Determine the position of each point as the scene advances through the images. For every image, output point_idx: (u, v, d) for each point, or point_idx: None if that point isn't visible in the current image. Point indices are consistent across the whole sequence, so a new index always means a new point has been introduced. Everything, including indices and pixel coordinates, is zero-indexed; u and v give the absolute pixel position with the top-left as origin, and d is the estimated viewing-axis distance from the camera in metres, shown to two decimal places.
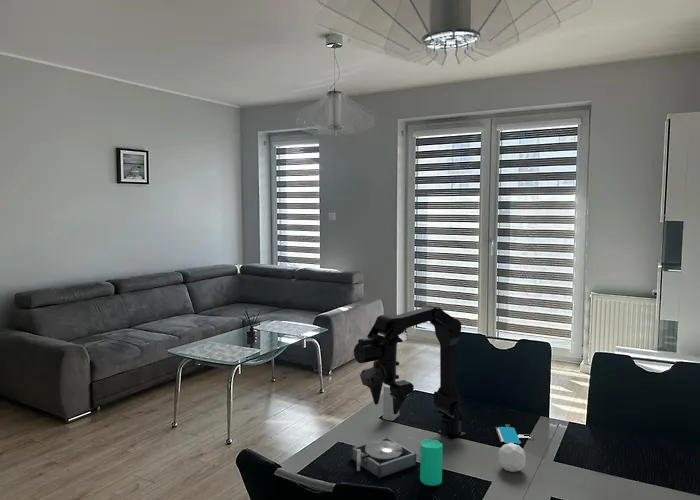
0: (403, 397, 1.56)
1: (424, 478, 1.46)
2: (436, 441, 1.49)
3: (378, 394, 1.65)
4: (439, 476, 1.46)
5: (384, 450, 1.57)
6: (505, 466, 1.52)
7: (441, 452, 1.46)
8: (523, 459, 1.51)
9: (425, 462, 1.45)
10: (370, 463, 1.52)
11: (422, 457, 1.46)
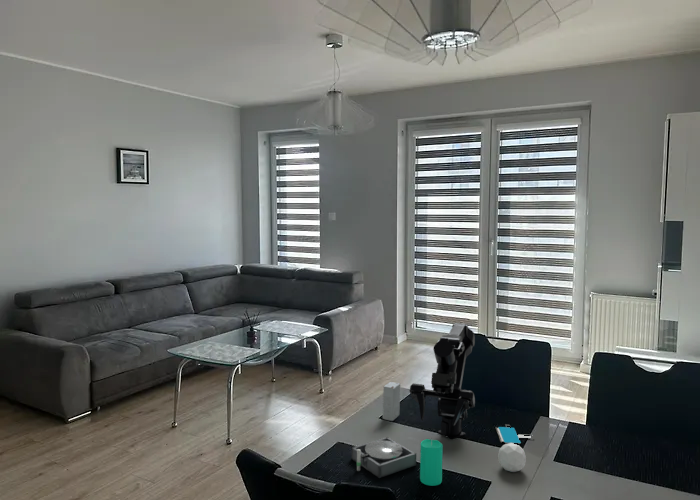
0: (462, 410, 1.56)
1: (424, 478, 1.46)
2: (436, 441, 1.49)
3: (424, 411, 1.58)
4: (439, 476, 1.46)
5: (384, 450, 1.57)
6: (505, 466, 1.52)
7: (441, 452, 1.46)
8: (523, 459, 1.51)
9: (425, 462, 1.45)
10: (370, 463, 1.52)
11: (422, 457, 1.46)
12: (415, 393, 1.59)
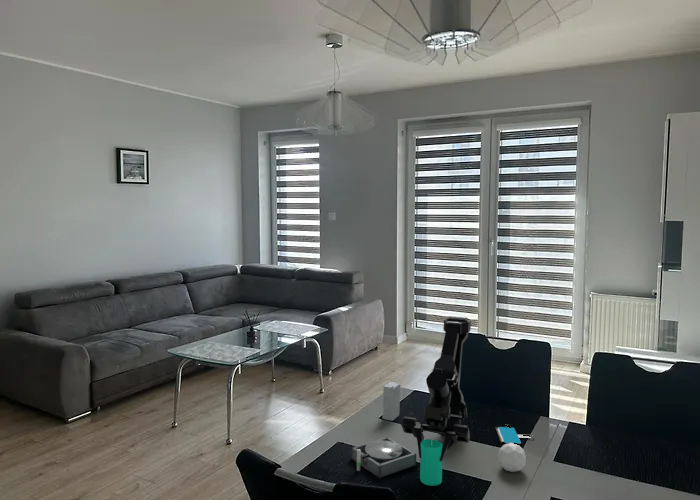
0: (450, 445, 1.49)
1: (424, 478, 1.46)
2: (436, 441, 1.49)
3: None
4: (439, 476, 1.46)
5: (384, 450, 1.57)
6: (505, 466, 1.52)
7: None
8: (523, 459, 1.51)
9: (425, 462, 1.45)
10: (370, 463, 1.52)
11: (422, 457, 1.46)
12: (413, 428, 1.50)
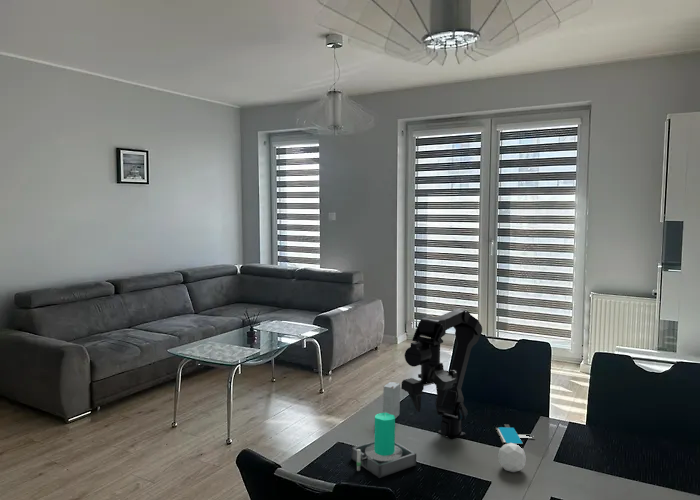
0: None
1: (374, 446, 1.58)
2: (392, 416, 1.58)
3: None
4: (387, 447, 1.55)
5: None
6: (505, 466, 1.52)
7: (390, 425, 1.55)
8: (523, 459, 1.51)
9: (375, 432, 1.57)
10: (370, 463, 1.52)
11: None
12: (418, 394, 1.59)
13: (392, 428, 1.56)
